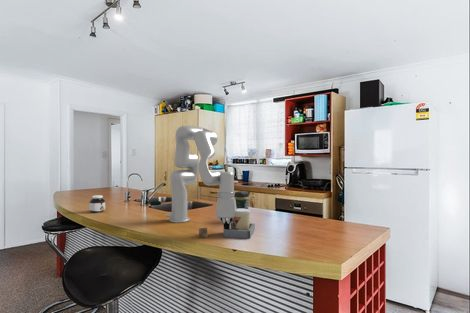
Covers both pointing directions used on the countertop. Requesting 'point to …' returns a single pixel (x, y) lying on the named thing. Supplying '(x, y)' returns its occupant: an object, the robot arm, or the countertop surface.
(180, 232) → the countertop surface
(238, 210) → the coffee cup
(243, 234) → the tray
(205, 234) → the walnut block
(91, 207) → the spread jar
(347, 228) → the countertop surface
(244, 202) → the coffee jar
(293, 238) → the countertop surface
